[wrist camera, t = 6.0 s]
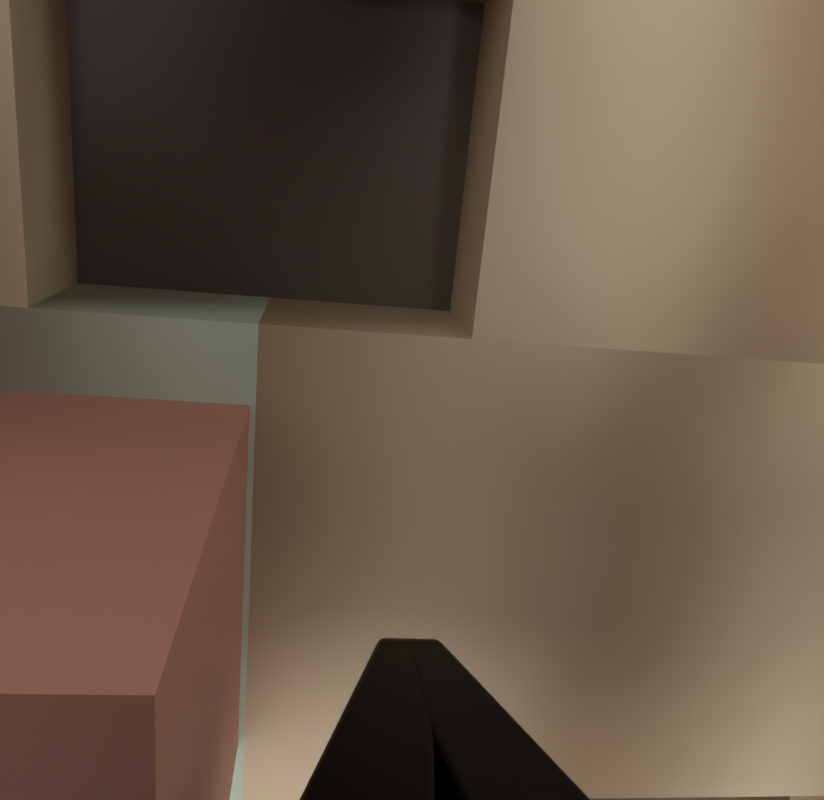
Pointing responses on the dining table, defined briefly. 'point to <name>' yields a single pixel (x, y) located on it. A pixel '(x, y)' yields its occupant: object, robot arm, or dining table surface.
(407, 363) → the trap box
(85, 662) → the block
